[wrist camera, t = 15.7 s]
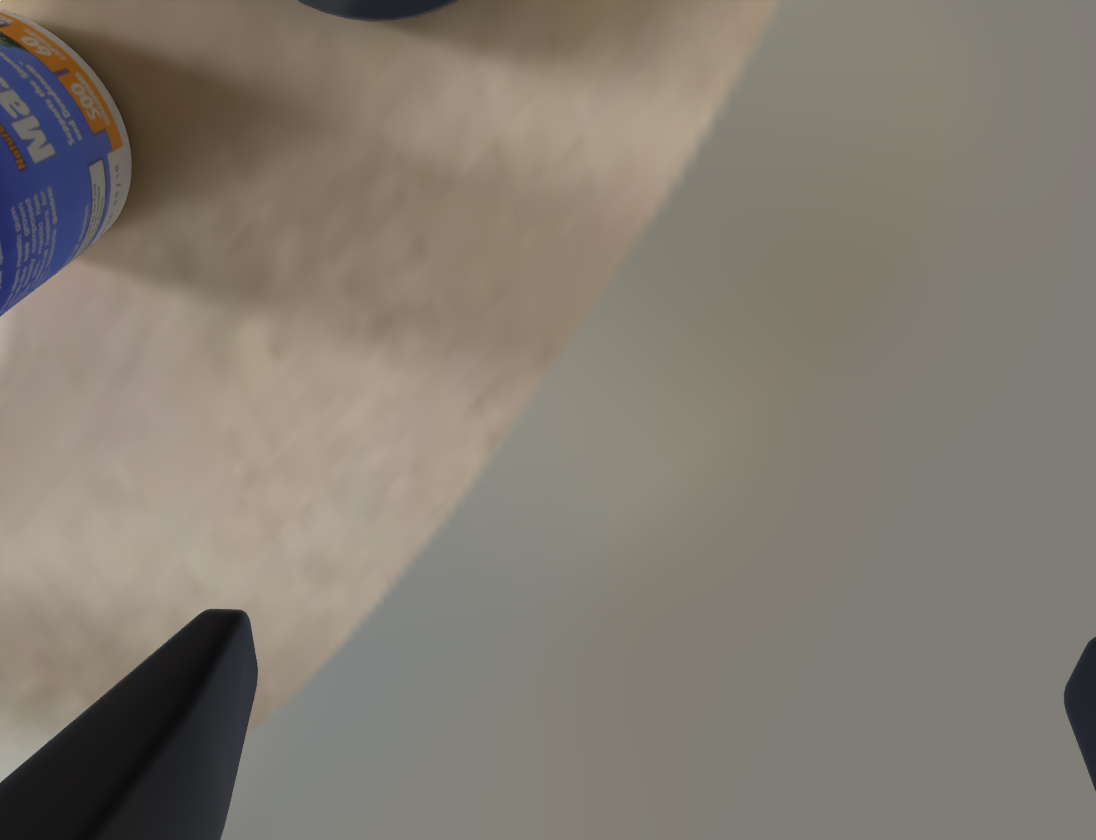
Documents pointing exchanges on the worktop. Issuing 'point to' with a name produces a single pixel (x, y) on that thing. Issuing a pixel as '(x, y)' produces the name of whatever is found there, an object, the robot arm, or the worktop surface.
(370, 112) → the worktop surface
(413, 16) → the coaster
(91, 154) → the pill bottle
